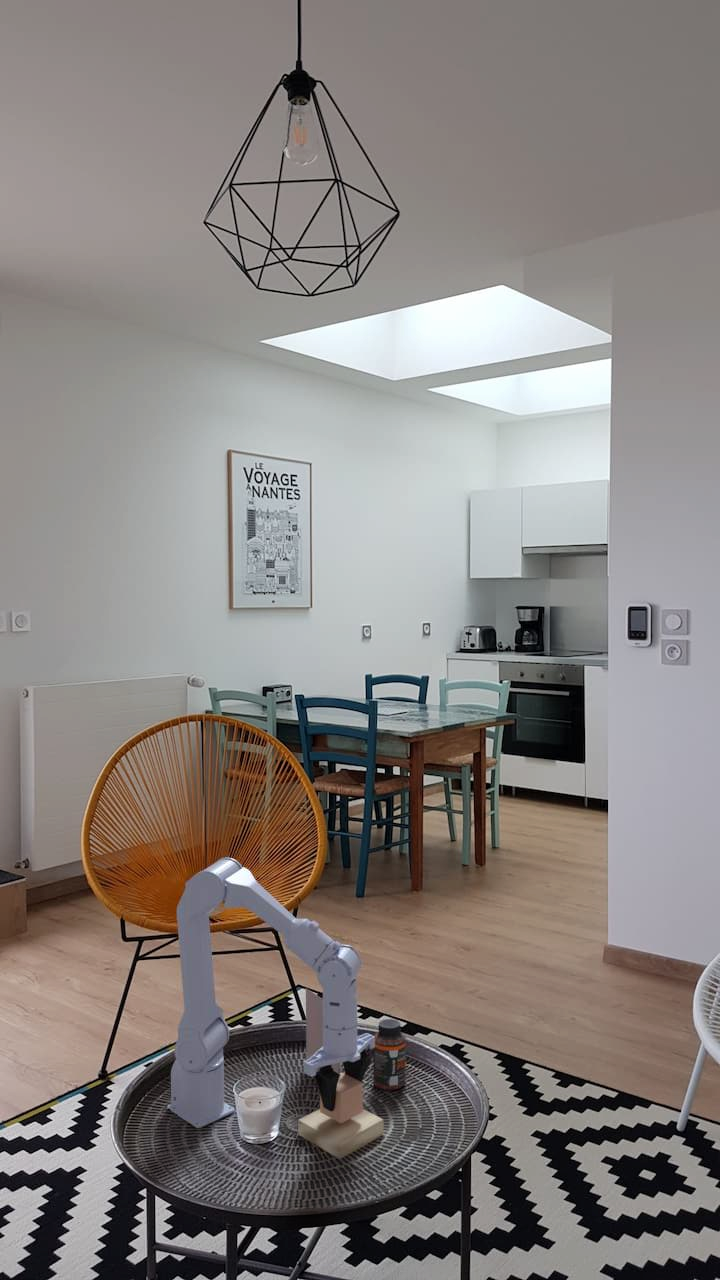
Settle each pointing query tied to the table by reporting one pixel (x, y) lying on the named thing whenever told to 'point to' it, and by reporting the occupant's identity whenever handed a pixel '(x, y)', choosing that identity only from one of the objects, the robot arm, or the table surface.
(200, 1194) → the table surface
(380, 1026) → the supplement bottle
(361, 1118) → the birch block
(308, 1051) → the greeting card
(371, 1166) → the table surface
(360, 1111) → the terracotta cube
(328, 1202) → the table surface
